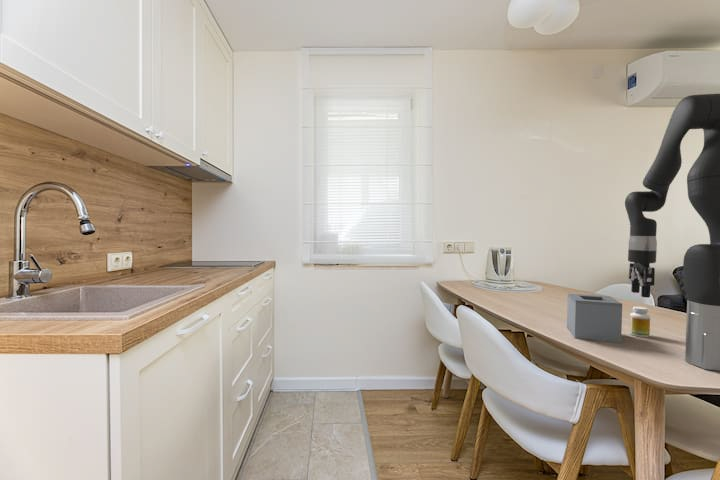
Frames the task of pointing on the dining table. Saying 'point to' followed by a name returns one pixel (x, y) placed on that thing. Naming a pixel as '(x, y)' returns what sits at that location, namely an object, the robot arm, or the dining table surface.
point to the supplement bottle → (640, 322)
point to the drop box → (594, 317)
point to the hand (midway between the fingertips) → (640, 294)
